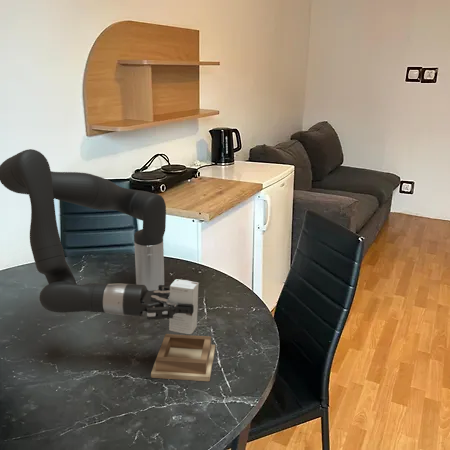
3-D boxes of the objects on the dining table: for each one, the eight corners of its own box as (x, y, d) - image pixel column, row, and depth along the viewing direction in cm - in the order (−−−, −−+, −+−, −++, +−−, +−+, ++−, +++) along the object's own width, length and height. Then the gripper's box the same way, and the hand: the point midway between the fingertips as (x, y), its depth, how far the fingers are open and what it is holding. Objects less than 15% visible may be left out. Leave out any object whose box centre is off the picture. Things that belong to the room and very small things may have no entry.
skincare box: (168, 331, 116) (167, 285, 112) (175, 322, 120) (174, 278, 116) (192, 335, 114) (192, 289, 110) (198, 326, 118) (198, 281, 115)
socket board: (162, 345, 127) (162, 331, 126) (215, 348, 126) (215, 334, 125) (151, 377, 114) (150, 362, 112) (209, 381, 113) (209, 366, 112)
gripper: (116, 298, 108) (190, 303, 107) (132, 273, 121) (199, 277, 120) (117, 328, 110) (190, 333, 109) (133, 299, 124) (199, 304, 123)
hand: (194, 303), depth 115 cm, fingers closed on skincare box, 5 cm apart
